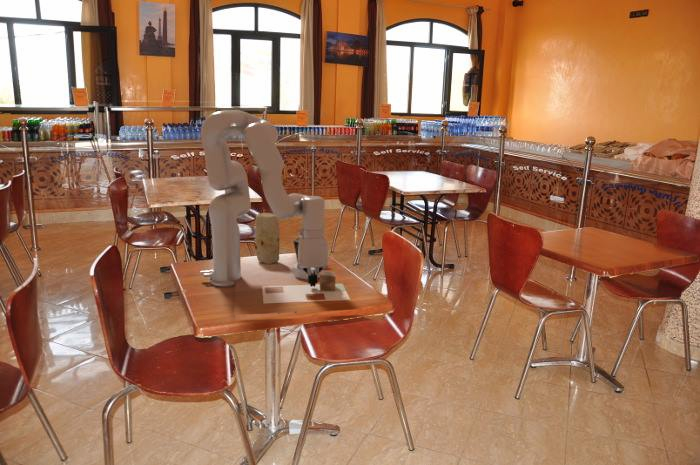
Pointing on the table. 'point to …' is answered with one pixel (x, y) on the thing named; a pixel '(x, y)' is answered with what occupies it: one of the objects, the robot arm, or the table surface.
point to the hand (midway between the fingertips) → (312, 285)
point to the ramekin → (302, 272)
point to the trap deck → (303, 294)
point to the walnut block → (327, 281)
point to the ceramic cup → (296, 246)
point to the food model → (267, 238)
